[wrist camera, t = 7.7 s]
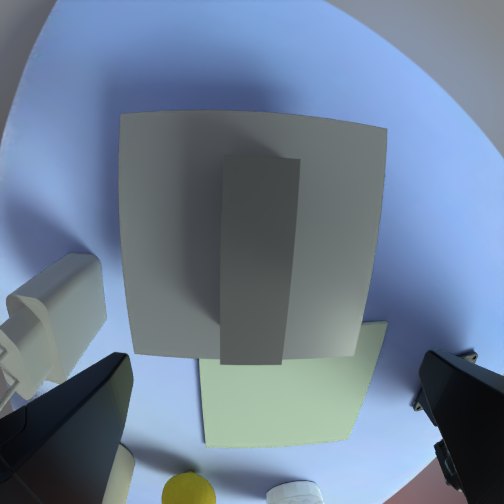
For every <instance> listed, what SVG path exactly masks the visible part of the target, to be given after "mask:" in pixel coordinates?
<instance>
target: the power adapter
mask: <svg viewBox="0 0 504 504" xmlns="http://www.w3.org/2000/svg"><path fill="white" fill-rule="evenodd" d="M6 306H7V310H8V314H9V319H8V320H6V321H5V322H4V323H3V324H2V325H1V326H0V367H1V369H2V372H3V374H4V377H5V379H6V381H7V382H8V384H9V385H10V386H11V387H10V388H9V390H8V391H7V392H6V394H5V395H4V396H3V399H2V400H1V401H0V411H1V409H2V408H3V406H4V405H5V404H6V402H8V400H9V399H10V398H11V396H12V395H13V394H14V392H15V391H16V392H17V393H18V394H19V395H20V396H21V397H22V398H24V399H25V400H29V399H31V398H32V397H33V396H34V395H35V394H36V392H37V391H38V389H39V388H40V386H41V385H42V384H43V382H44V381H45V380H47V381H51V382H54V383H58V384H62V383H63V382H65V381H66V379H67V378H68V376H69V375H70V373H71V372H72V370H73V369H74V367H75V365H76V364H77V362H78V361H79V359H80V358H81V356H82V355H83V353H84V352H85V350H86V349H87V347H88V346H89V344H90V343H91V342H92V340H93V339H94V337H95V336H96V334H97V333H98V331H99V330H100V329H101V327H102V326H103V324H104V323H105V321H106V319H107V314H106V306H105V298H104V289H103V280H102V268H101V263H100V260H99V259H98V258H97V257H96V256H95V255H92V254H83V253H69V254H67V255H65V256H64V257H62V258H61V259H59V260H58V261H56V262H55V263H53V264H52V265H50V266H49V267H47V268H46V269H45V270H43V271H42V272H40V273H39V274H37V275H36V276H34V277H33V278H32V279H30V280H29V281H27V282H26V283H25V284H23V285H22V286H20V287H19V288H18V289H16V290H15V291H14V292H12V293H11V294H10V295H8V296H7V298H6Z"/></svg>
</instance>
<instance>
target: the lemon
mask: <svg viewBox="0 0 504 504" xmlns="http://www.w3.org/2000/svg"><path fill="white" fill-rule="evenodd" d="M162 504H216V496H215V492H214V490H213V487H212V486H211V484H210V483H209V482H208V481H207V480H206V479H205V478H203V477H202V476H200V475H197V474H195V473H194V472H193V471H188V472H187V473H181V474H177V475H175V476H173V477H172V478H171V479H169V480H168V481H167V483H166V484H165V486H164V489H163V493H162Z"/></svg>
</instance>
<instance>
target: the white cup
mask: <svg viewBox="0 0 504 504" xmlns="http://www.w3.org/2000/svg"><path fill="white" fill-rule="evenodd" d="M266 504H325V502H324V501H323V498H322V495H321V492H320V488H319V486H318V485H317V484H316V483H313V482H309V481H295V482H289V483H285V484H281V485H278V486H276V487H273V488H272V489H271V490H269V491H268V492H267V493H266Z"/></svg>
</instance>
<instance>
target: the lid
mask: <svg viewBox="0 0 504 504" xmlns="http://www.w3.org/2000/svg"><path fill="white" fill-rule="evenodd" d="M386 149H387V129H386V128H381V127H376V126H371V125H365V124H360V123H354V122H348V121H341V120H335V119H328V118H320V117H312V116H303V115H294V114H283V113H271V112H256V111H234V110H171V111H150V112H135V113H124V114H121V115H120V133H119V166H118V189H119V223H120V240H121V254H122V266H123V276H124V286H125V294H126V302H127V310H128V317H129V324H130V330H131V336H132V342H133V348H134V354H141V355H152V356H164V357H178V358H195V359H220V365H282V360H290V359H315V358H332V357H346V356H354V352H355V349H356V345H357V341H358V337H359V332H360V328H361V324H362V320H363V315H364V311H365V306H366V301H367V296H368V291H369V286H370V281H371V275H372V270H373V264H374V258H375V252H376V245H377V239H378V232H379V224H380V216H381V208H382V199H383V189H384V178H385V165H386Z"/></svg>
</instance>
